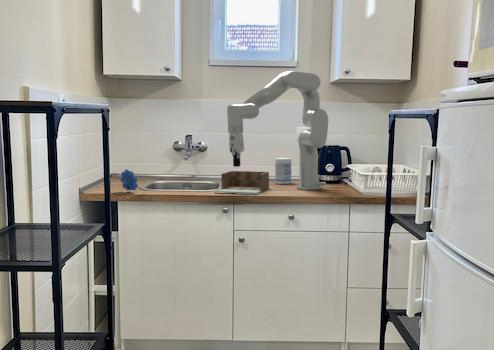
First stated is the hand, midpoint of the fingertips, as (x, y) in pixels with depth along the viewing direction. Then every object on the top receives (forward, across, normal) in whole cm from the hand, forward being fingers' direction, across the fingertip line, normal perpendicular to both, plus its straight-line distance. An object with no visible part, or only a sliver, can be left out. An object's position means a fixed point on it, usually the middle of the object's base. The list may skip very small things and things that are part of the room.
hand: (236, 166), depth 236 cm
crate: (+14, +15, +1) cm, 21 cm away
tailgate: (+14, +7, +1) cm, 16 cm away
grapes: (+13, -10, +57) cm, 59 cm away
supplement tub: (+15, +45, -13) cm, 49 cm away
